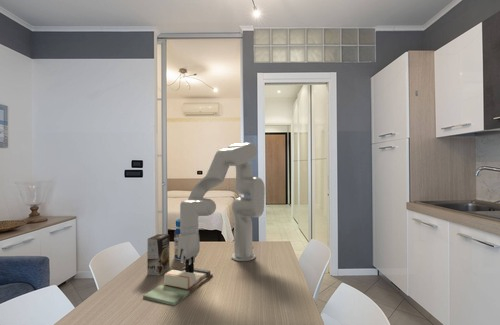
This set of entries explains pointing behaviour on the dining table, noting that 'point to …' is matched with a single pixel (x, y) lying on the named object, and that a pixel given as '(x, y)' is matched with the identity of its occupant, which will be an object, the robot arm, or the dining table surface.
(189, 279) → the stub
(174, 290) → the board
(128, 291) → the dining table surface
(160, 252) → the coffee box
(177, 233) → the beverage bottle
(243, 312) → the dining table surface
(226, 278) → the dining table surface
